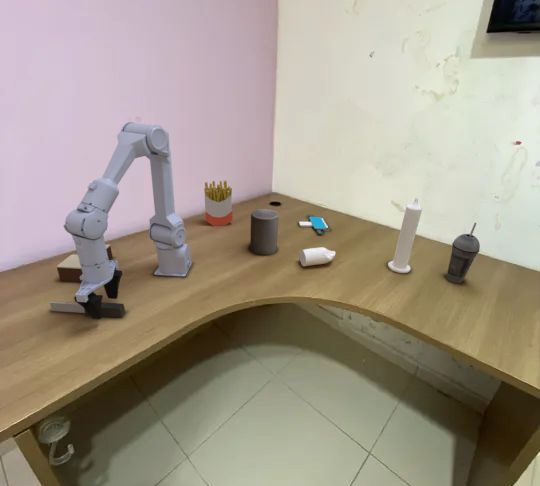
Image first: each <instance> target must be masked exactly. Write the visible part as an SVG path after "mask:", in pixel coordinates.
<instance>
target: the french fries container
mask: <svg viewBox="0 0 540 486" xmlns="http://www.w3.org/2000/svg"><path fill="white" fill-rule="evenodd" d="M204 207H205V208H204V212H205V221H206V222H207V223H208V224H210V225H211V226H213V227H215V226H227V225H228V224H229V223H230V222H232V221H233V188H232V187H231V185H228V181H227V180H223V182H222V180H219V183H217V184H216V181H215V180H212V182H211V183H209V185H208V181H205V182H204Z"/></svg>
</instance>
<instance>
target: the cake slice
mask: <svg viewBox="0 0 540 486" xmlns="http://www.w3.org/2000/svg"><path fill="white" fill-rule="evenodd" d="M105 245H106V250H107V255H108V259H109V261H110V260H111V261H112V259H113V258H114V256H113V252H112V247H111V244H108V243H107V244H106V243H105Z"/></svg>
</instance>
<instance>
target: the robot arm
mask: <svg viewBox="0 0 540 486" xmlns="http://www.w3.org/2000/svg"><path fill="white" fill-rule="evenodd" d="M116 137H117V145H116V146H115V149H114V151H113V154H112V155H111V158H110V160H109V162H108V164H107V166H106V168H105V170H104V172H103V174H102V177H100V178H96V179H93V181H92V182H89V184H88V186H87V191H86V192H85V194H84V196H83V198H82V199H81V201H80V202H79V203H78V204H77V206H76V209H73V210H71V211H70V212H69V213H68V214H67V216H66V217H65V220H64V221H65V222H64V223H65V224H63V228H64V230H65V231H66V232H67V233H68V234H70V235H71V237H72V241H73V242H74V246H75V249H76V255H78V258H79V262H80V265H81V269H82V273H83V274H82V275H81V276H80V280H83V281H82V282H80V286H79V288H78V289H77V292H76V293H75V295H74V297H73V299H74V303H78V304H80V305H81V306H82V307H84V308H85V310H86V311H87V312H88V313H89V315H90V316H89V317H90V318H91V319H92V320H101V319H102V309H101V302H102V301H103V297H104V295H103V294H97V293H96V292H95V291H97V290H98V289H100V288H101V287H103V288H104V291H105V295H106V296H107V298H108V299H110V300H111V299H112V300H117V299H118V296H119V287H120V282H121V279H122V276H123V270H120V269H118V268H119V263H118V260H112V259H111V260H110V261H109V259H108V255H107V250H106V245H105V244H106V241H105V240H106V239H105V236H104V234H105V233H106V231H107V230H108V225H109V223H108V220H109V213H110V211H111V209H112V207H113V205H114V204H115V202H116V200H117V198H118V197H119V194H120V190H119V188H118V185H119V183H120V182H121V181H122V179H123V177H124V176H125V175H126V173H127V171H128V170H129V169H130V167H131V165H132V164H133V162H134V161H135V159H138V158H142V157H146V158H147V159H148V160H149V163H150V164H149V165H150V174H151V175H150V176H151V184H152V195H153V196H152V197H153V207H154V215H152V217H151V218H149V227H148V233H147V234H148V237H149V239H150V240H151V241H153V245H155V248H156V255H157V264H158V267H157V269H156V270H155V271H154V275H155V276H167V277H181V278H182V277H184V278H185V277H186V276H187V274H188V272H189V270H190V268H191V267H192V264H193V263H192V256H191V246H190V245H189V244H187V243H185V242H186V238H187V230H186V228H185V225H184V220H183V219H182V218H181V217H180V216H179V215H178V214H176V207H175V193H174V179H173V166H172V165H173V164H172V153H171V147H170V135H169V132H168V131H167V130H166V129H165V128H164V127H162V126H161V125H158V124H146V123H136V122H132V121H127V122H125V123H124V124H123V125H122V126H121V129H120V131H119V132H118V134H117V136H116Z"/></svg>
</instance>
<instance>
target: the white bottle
mask: <svg viewBox="0 0 540 486" xmlns="http://www.w3.org/2000/svg"><path fill="white" fill-rule="evenodd" d="M298 255H299V262H300V264H301V266H302V267H309V266H317V265H323V264H324V265H325V264H328V263H329V262H331V261H332V260H333V259H334V258H335V256H336V251H334V250H330V249H328V248H326V247H324V246H321V247H311V248H310V247H309V248H305V249H301V250H299V253H298Z"/></svg>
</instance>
